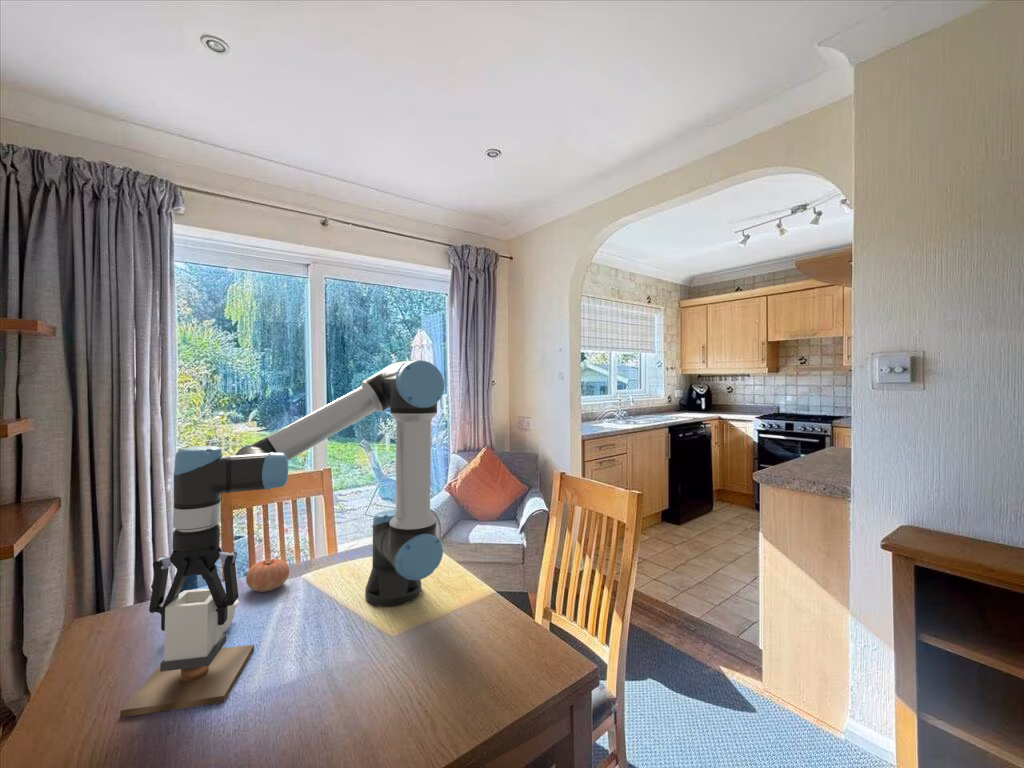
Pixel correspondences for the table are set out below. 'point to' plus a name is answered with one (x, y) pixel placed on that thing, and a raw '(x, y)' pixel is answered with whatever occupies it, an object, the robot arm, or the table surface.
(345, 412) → the robot arm
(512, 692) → the table surface
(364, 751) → the table surface
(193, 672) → the peg stacking board
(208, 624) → the sleeve
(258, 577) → the pumpkin
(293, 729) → the table surface
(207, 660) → the ring
